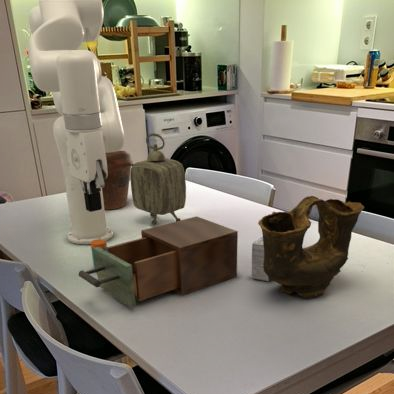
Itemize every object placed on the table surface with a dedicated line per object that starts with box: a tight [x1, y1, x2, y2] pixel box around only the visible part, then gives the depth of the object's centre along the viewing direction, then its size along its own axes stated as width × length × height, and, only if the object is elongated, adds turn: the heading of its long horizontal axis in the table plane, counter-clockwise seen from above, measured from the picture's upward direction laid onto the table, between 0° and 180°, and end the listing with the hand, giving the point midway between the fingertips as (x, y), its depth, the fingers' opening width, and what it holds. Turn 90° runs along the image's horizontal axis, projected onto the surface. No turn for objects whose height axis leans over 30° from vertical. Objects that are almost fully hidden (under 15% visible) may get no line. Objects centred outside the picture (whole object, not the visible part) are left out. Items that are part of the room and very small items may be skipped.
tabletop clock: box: [130, 132, 187, 226], centre depth 147 cm, size 14×9×25 cm, turn 50°
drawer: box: [78, 237, 179, 308], centre depth 108 cm, size 20×14×9 cm
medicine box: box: [250, 236, 271, 282], centre depth 116 cm, size 8×4×9 cm, turn 148°
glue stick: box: [90, 239, 108, 269], centre depth 121 cm, size 4×4×7 cm
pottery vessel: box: [257, 195, 365, 299], centre depth 106 cm, size 25×11×20 cm, turn 123°
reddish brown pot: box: [102, 150, 134, 210], centre depth 167 cm, size 18×20×18 cm
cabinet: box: [140, 215, 239, 297], centre depth 116 cm, size 16×15×11 cm
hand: (94, 209), depth 115 cm, fingers closed
